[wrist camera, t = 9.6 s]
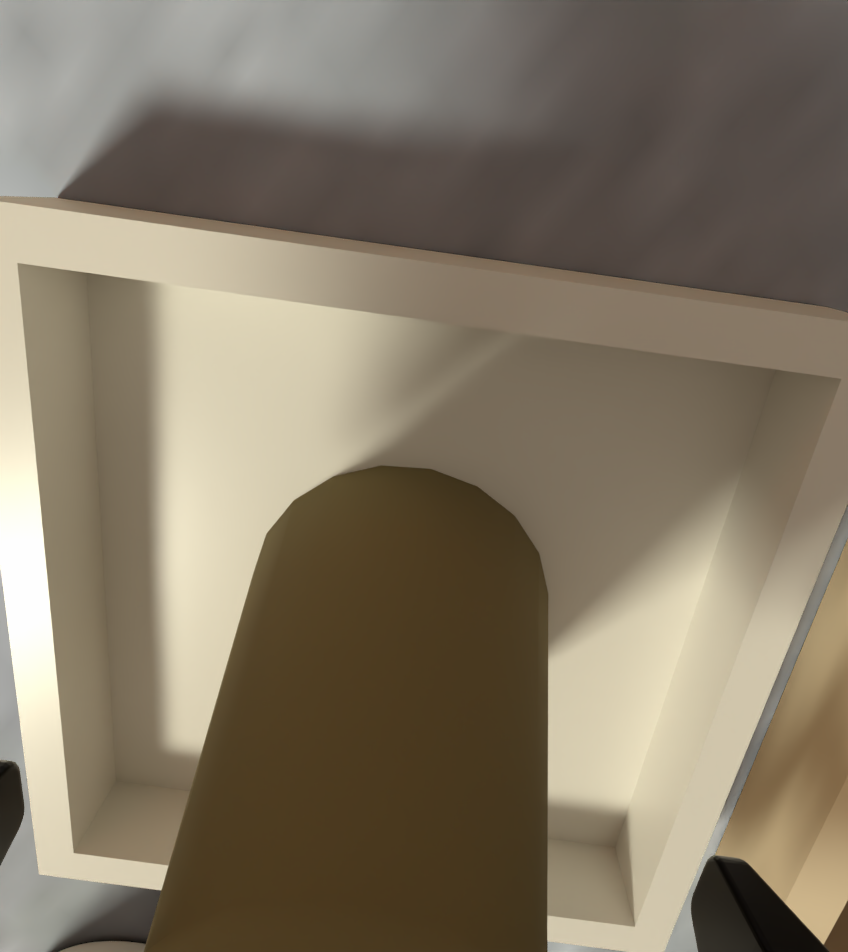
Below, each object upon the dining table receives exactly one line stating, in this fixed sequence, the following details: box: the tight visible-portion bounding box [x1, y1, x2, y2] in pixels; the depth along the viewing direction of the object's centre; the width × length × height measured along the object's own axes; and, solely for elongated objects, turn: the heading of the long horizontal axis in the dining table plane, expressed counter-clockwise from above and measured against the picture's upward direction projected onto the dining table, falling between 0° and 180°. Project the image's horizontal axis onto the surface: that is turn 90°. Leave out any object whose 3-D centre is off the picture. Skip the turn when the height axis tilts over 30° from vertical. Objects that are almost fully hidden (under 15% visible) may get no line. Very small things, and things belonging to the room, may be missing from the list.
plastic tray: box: [0, 196, 848, 952], centre depth 13 cm, size 14×14×2 cm
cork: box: [144, 465, 548, 952], centre depth 9 cm, size 6×6×11 cm
